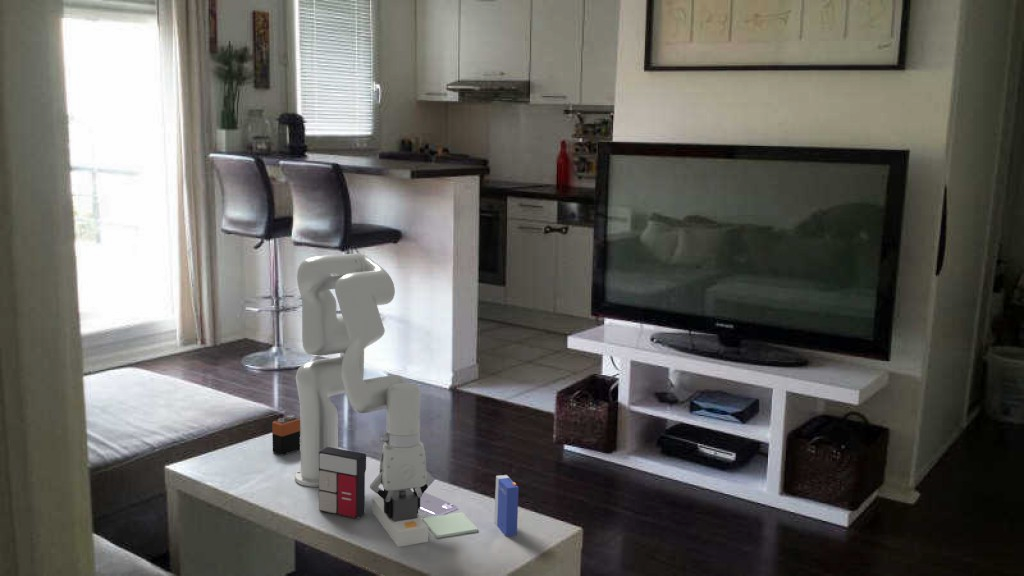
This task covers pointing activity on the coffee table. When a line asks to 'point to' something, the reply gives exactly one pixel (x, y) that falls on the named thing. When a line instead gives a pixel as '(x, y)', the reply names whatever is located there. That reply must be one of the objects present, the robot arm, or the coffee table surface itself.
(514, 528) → the walkman
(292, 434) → the battery
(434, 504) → the mobile phone
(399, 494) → the grey knobbed block
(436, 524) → the mat
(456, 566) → the coffee table surface
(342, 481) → the red grey panelled box
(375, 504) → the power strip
